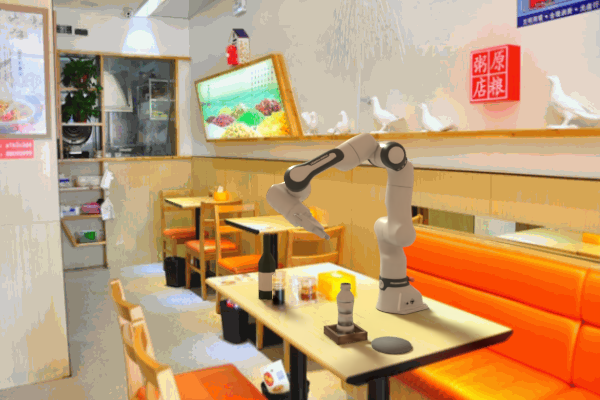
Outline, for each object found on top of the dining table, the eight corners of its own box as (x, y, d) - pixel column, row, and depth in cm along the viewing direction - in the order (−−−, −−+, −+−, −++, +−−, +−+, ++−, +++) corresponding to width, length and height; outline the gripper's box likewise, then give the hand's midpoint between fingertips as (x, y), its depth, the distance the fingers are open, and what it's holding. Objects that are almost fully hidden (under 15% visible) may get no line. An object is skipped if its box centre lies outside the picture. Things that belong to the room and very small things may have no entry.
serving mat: (397, 336, 198) (397, 334, 198) (419, 350, 186) (419, 348, 185) (364, 341, 193) (364, 339, 193) (384, 356, 180) (384, 354, 180)
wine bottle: (261, 301, 241) (260, 235, 237) (255, 296, 248) (254, 232, 245) (278, 298, 244) (278, 233, 241) (272, 293, 252) (271, 230, 248)
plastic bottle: (353, 340, 194) (354, 286, 192) (334, 339, 196) (335, 285, 193) (355, 334, 201) (355, 282, 198) (337, 332, 202) (337, 281, 200)
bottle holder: (352, 329, 206) (352, 321, 205) (367, 340, 195) (367, 332, 194) (323, 333, 201) (323, 325, 201) (337, 344, 190) (337, 336, 190)
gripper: (297, 206, 199) (325, 229, 195) (310, 212, 219) (336, 233, 215) (287, 219, 199) (315, 242, 195) (300, 224, 219) (326, 245, 215)
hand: (326, 237), depth 205 cm, fingers open, 8 cm apart
